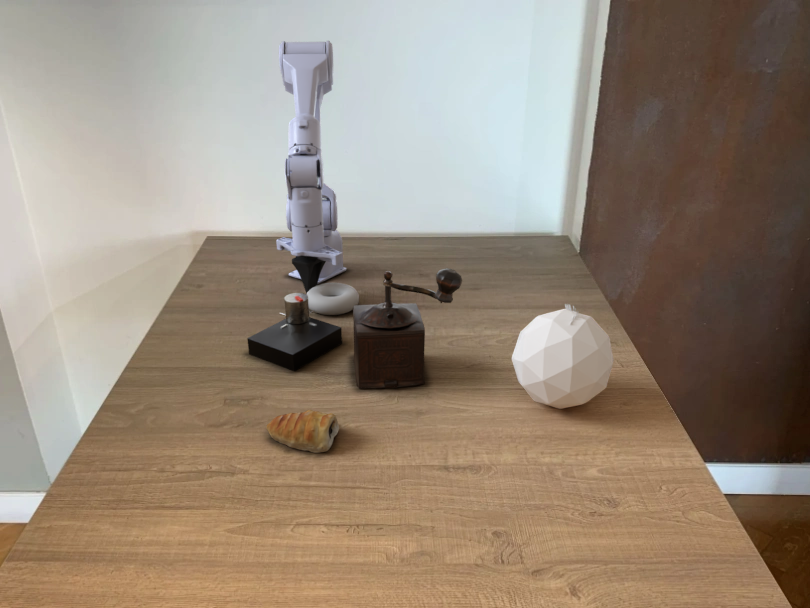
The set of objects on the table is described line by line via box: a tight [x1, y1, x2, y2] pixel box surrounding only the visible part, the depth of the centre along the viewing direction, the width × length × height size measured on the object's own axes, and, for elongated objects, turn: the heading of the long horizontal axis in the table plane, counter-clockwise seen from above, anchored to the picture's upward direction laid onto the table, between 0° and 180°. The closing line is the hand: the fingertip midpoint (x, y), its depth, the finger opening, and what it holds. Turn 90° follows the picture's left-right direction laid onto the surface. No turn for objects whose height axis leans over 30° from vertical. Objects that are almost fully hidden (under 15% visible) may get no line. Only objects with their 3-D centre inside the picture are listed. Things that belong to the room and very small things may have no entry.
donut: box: [305, 282, 360, 316], centre depth 137 cm, size 10×4×10 cm
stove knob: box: [283, 292, 310, 324], centre depth 125 cm, size 4×4×4 cm
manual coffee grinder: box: [352, 268, 463, 390], centre depth 112 cm, size 16×11×18 cm
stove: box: [246, 310, 343, 372], centre depth 124 cm, size 14×12×3 cm
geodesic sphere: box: [511, 303, 615, 410], centre depth 105 cm, size 15×14×14 cm
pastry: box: [266, 409, 340, 454], centre depth 99 cm, size 9×7×4 cm
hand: (311, 292), depth 140 cm, fingers closed
